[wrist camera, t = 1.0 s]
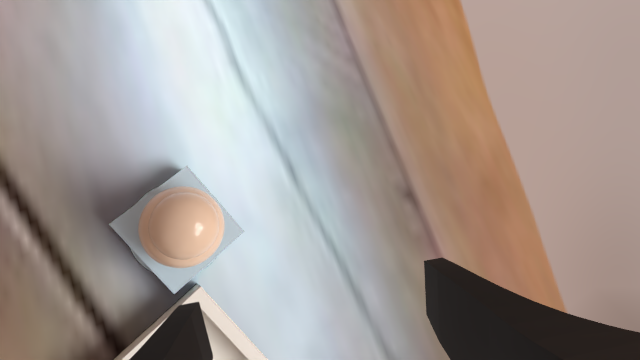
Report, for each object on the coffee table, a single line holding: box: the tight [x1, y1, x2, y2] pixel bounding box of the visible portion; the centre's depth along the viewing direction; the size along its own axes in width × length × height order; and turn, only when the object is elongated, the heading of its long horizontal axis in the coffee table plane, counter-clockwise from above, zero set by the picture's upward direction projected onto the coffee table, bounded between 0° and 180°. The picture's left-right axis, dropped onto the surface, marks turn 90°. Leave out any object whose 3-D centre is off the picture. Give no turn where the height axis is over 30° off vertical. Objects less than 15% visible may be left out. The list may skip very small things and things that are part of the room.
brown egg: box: [138, 186, 225, 268], centre depth 22 cm, size 5×5×5 cm
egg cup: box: [109, 166, 244, 294], centre depth 24 cm, size 6×6×2 cm
